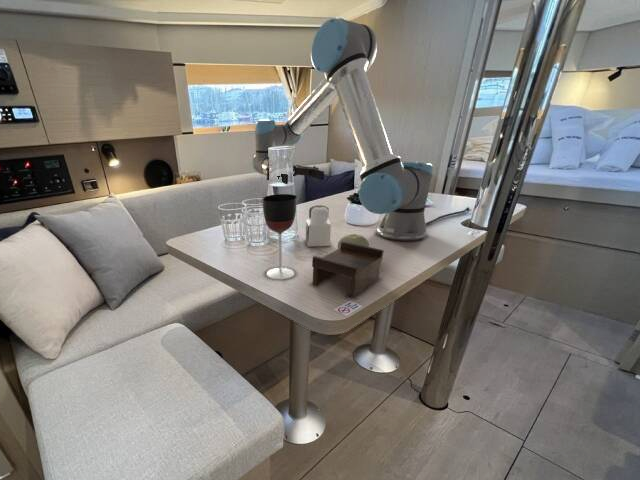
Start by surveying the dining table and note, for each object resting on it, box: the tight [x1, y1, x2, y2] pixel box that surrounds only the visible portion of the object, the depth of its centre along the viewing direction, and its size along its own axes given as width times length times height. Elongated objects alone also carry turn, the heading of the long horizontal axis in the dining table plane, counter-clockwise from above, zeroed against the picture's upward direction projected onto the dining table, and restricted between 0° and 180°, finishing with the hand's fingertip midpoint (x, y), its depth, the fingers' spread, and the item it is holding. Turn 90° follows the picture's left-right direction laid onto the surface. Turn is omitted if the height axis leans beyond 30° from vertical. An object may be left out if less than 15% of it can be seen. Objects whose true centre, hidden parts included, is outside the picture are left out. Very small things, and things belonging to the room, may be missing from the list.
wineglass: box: [261, 193, 298, 280], centre depth 81 cm, size 8×9×20 cm
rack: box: [311, 242, 385, 299], centre depth 78 cm, size 14×11×8 cm
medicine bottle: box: [305, 205, 332, 248], centre depth 103 cm, size 7×7×12 cm
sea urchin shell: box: [337, 233, 370, 249], centre depth 96 cm, size 9×8×8 cm
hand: (305, 177), depth 103 cm, fingers open, 13 cm apart
